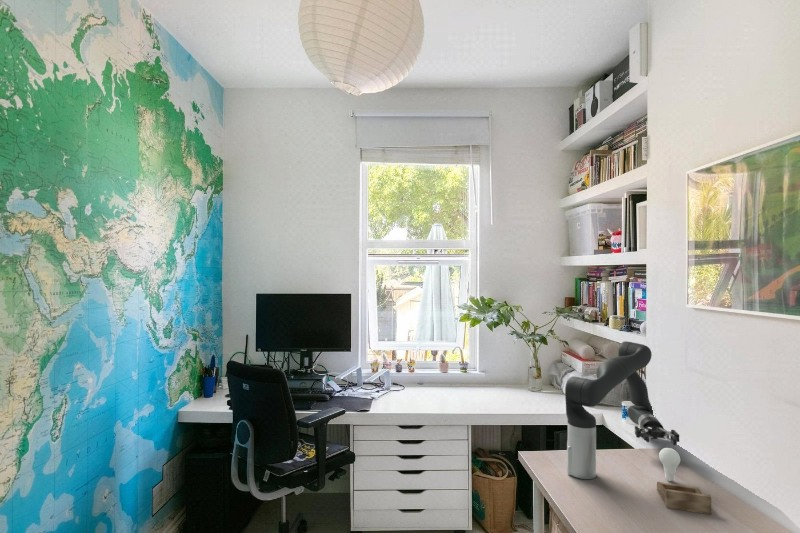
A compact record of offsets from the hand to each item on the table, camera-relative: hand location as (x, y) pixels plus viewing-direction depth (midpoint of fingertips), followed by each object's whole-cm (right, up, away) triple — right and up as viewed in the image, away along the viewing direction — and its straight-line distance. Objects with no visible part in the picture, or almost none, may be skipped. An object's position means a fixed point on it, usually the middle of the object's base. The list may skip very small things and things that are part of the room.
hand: (661, 441), depth 158 cm
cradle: (-8, -9, -24) cm, 27 cm away
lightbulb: (-4, -9, -11) cm, 15 cm away
